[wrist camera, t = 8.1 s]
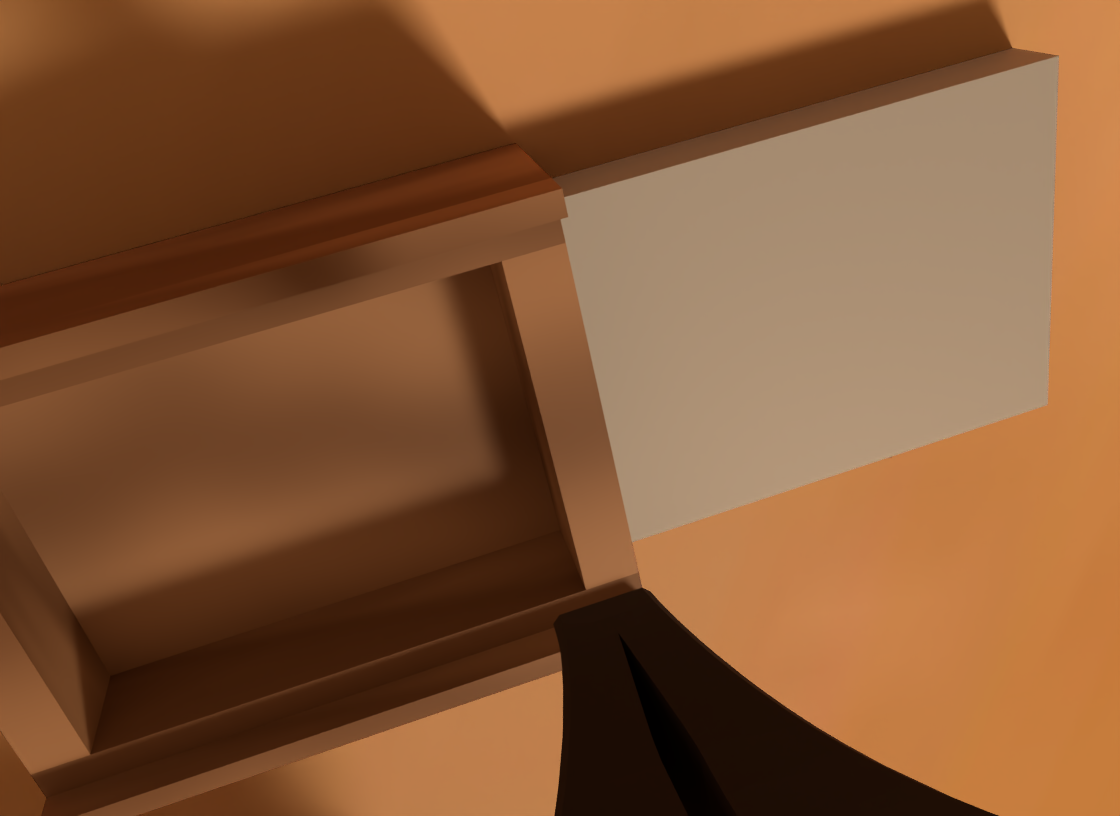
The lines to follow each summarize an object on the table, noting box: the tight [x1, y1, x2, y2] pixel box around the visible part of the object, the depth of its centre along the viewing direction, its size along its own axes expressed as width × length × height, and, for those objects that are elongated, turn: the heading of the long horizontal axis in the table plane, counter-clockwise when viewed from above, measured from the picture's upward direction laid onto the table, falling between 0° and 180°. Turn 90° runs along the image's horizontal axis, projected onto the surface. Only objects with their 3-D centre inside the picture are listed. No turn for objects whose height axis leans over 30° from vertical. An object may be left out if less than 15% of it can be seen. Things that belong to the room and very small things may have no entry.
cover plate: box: [552, 48, 1059, 542], centre depth 22 cm, size 8×11×2 cm
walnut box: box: [0, 143, 642, 816], centre depth 20 cm, size 10×13×4 cm
